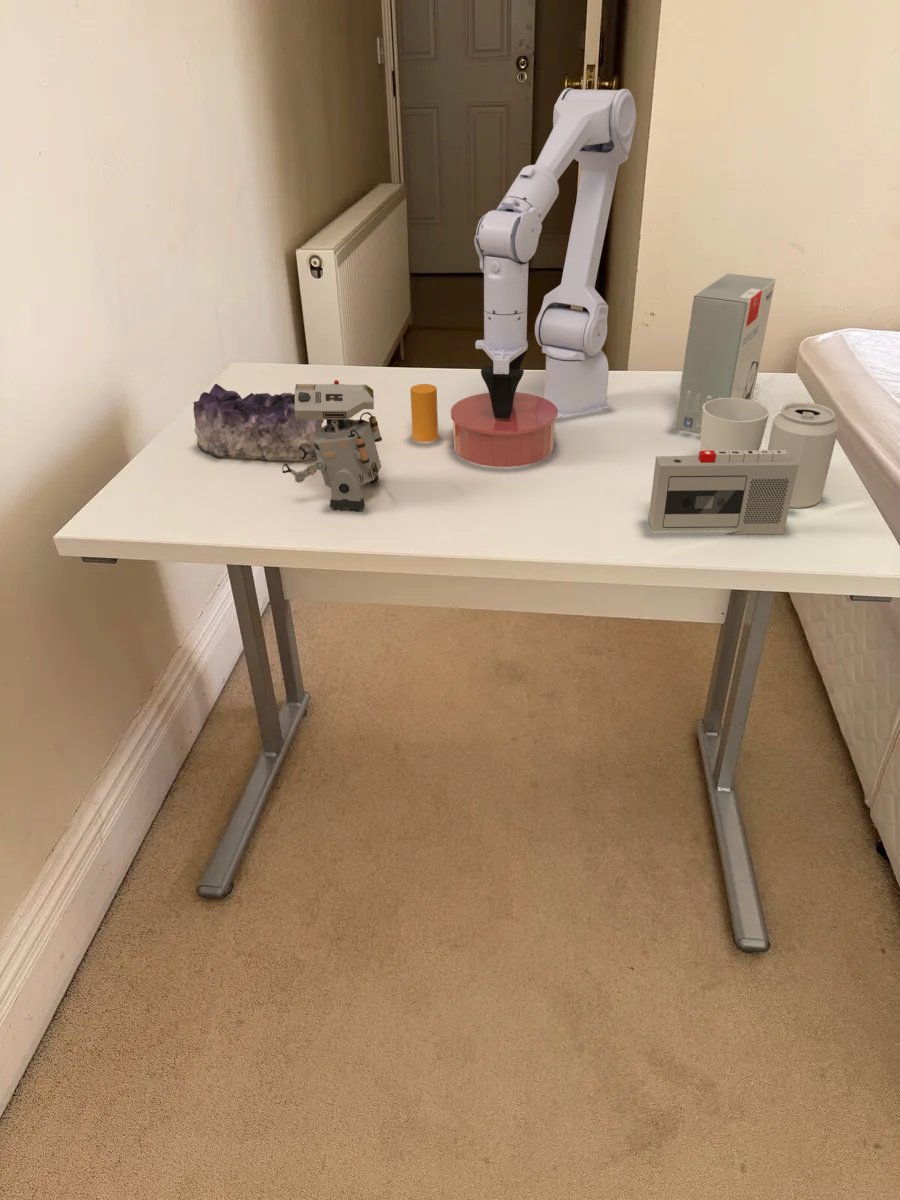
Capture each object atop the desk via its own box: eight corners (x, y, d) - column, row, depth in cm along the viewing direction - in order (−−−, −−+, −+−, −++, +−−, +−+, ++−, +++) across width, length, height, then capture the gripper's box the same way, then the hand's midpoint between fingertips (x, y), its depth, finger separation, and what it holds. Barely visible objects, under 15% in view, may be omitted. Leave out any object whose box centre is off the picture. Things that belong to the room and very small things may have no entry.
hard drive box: (723, 442, 125) (746, 302, 114) (672, 432, 129) (690, 295, 118) (752, 407, 136) (776, 276, 125) (705, 399, 140) (724, 271, 129)
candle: (432, 433, 130) (430, 382, 126) (442, 442, 128) (440, 390, 123) (409, 437, 129) (406, 386, 125) (418, 447, 126) (415, 394, 122)
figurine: (308, 477, 118) (295, 371, 110) (389, 482, 117) (382, 374, 108) (287, 508, 111) (271, 396, 103) (373, 513, 109) (364, 400, 101)
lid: (527, 392, 131) (528, 362, 128) (577, 427, 119) (579, 395, 116) (434, 408, 126) (433, 378, 123) (477, 447, 114) (477, 414, 112)
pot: (525, 423, 133) (526, 389, 130) (571, 458, 122) (573, 422, 119) (439, 439, 128) (438, 405, 125) (479, 478, 117) (478, 441, 114)
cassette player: (651, 534, 103) (661, 458, 98) (647, 524, 106) (656, 448, 100) (783, 533, 103) (800, 456, 97) (776, 523, 105) (793, 446, 99)
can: (819, 490, 112) (841, 402, 105) (820, 516, 106) (843, 424, 99) (759, 483, 114) (776, 396, 107) (757, 508, 108) (774, 418, 102)
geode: (182, 467, 122) (169, 396, 118) (211, 444, 133) (200, 379, 128) (321, 465, 120) (313, 393, 116) (339, 442, 130) (333, 375, 126)
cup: (759, 473, 117) (773, 402, 111) (750, 498, 110) (764, 425, 105) (699, 463, 119) (709, 394, 114) (686, 488, 113) (697, 416, 108)
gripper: (480, 294, 120) (480, 388, 128) (469, 324, 108) (470, 426, 116) (531, 295, 120) (528, 389, 127) (525, 325, 108) (523, 427, 115)
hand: (504, 407), depth 122 cm, fingers open, 7 cm apart
